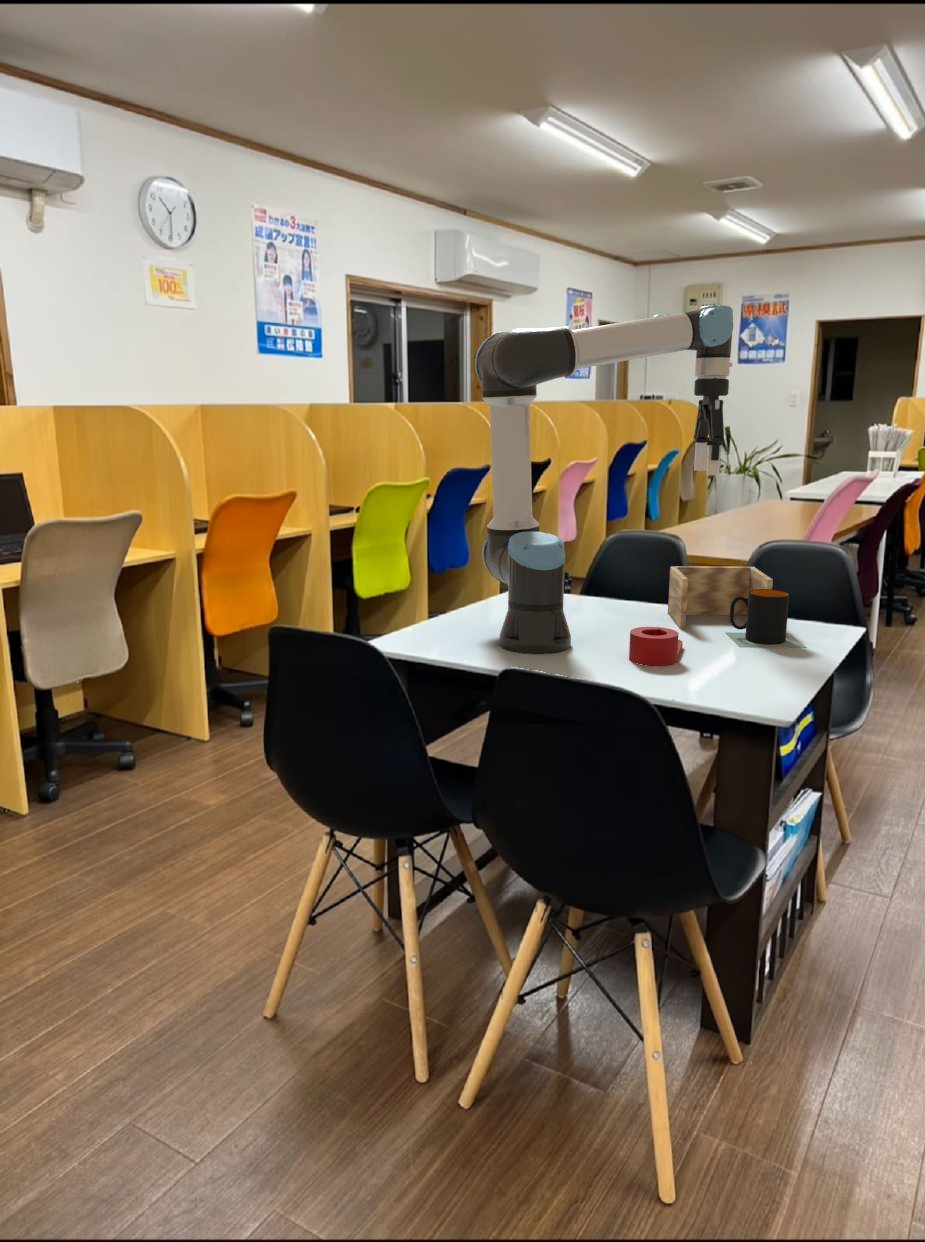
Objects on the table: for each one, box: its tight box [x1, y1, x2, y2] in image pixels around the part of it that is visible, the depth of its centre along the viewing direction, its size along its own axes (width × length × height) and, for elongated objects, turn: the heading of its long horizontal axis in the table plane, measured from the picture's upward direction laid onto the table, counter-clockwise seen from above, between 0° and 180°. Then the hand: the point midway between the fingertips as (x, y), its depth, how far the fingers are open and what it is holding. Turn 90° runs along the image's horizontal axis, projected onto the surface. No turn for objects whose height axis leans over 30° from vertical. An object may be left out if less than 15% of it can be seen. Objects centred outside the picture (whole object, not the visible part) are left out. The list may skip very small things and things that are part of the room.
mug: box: [729, 588, 790, 645], centre depth 193 cm, size 8×12×10 cm
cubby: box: [667, 565, 774, 630], centre depth 209 cm, size 20×16×12 cm
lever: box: [628, 626, 684, 668], centre depth 181 cm, size 18×9×7 cm, turn 147°
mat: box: [725, 631, 808, 649], centre depth 193 cm, size 14×12×1 cm
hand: (706, 472), depth 207 cm, fingers open, 13 cm apart
